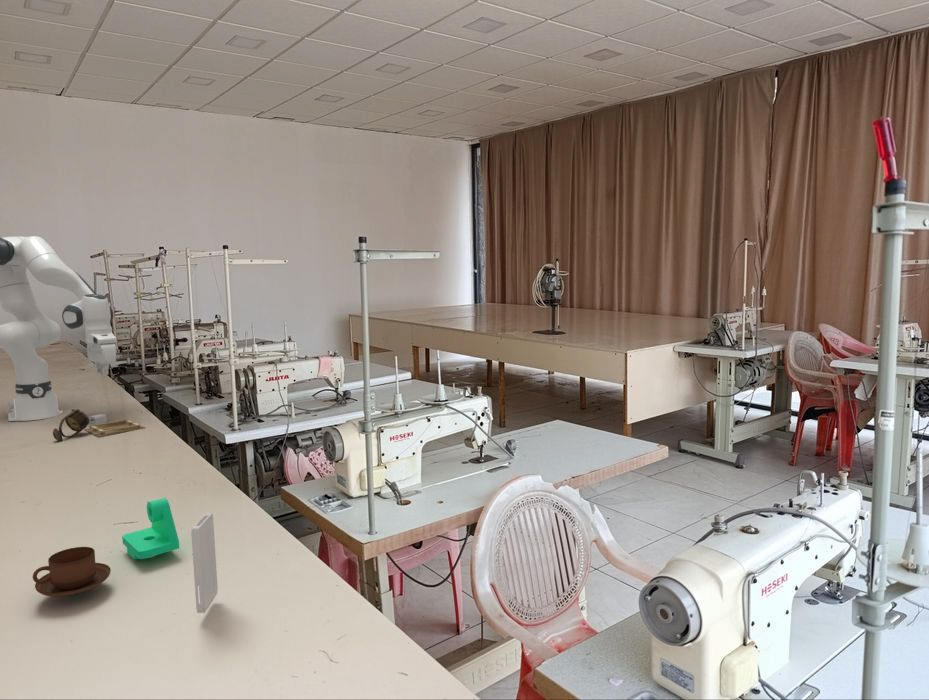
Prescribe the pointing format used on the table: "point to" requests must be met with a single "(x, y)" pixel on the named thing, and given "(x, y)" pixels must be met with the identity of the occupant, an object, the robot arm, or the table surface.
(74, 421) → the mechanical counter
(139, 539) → the camera mount
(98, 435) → the picture frame
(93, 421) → the usb wall charger
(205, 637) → the table surface
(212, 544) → the phone case
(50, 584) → the cup and saucer
